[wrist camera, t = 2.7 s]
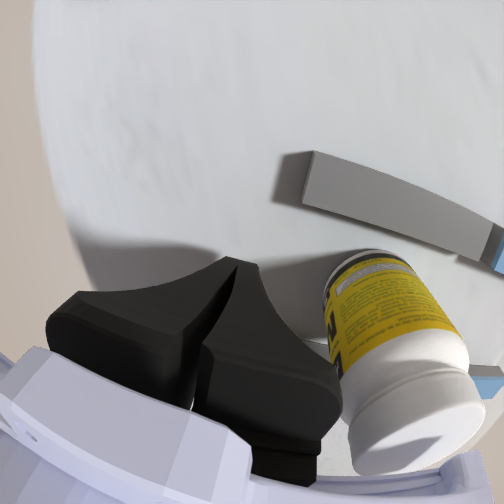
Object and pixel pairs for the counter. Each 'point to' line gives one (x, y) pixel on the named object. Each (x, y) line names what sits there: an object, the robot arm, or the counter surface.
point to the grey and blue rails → (406, 225)
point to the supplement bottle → (397, 367)
